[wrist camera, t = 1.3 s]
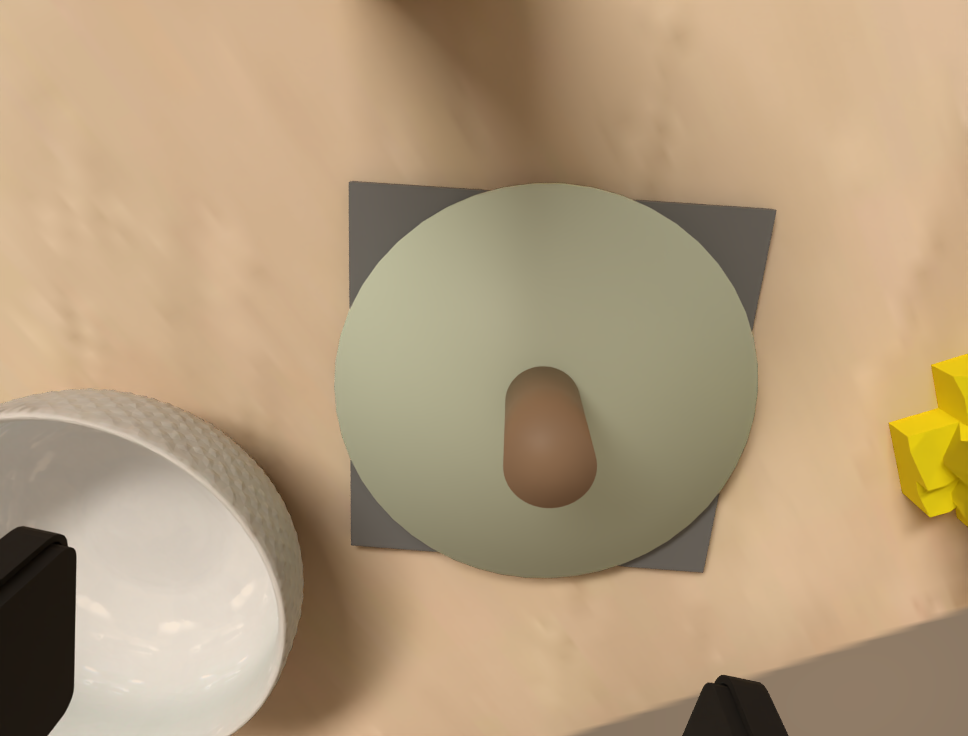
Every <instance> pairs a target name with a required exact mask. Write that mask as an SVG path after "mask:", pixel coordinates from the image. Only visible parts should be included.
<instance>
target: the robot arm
mask: <svg viewBox="0 0 968 736" xmlns="http://www.w3.org/2000/svg"><path fill="white" fill-rule="evenodd" d="M76 564H77V555H76V551H75V549H74V548H72V547H68V543H67V539H66V537H65V536H64V535H62V534H59V533H54V532H50V531H45V530H40V529H35V528H31V527H26V526H20V527H16V528H15V529H13V530H11V531H10V532H9V533H7V534H6V535H5V536H3V537H2V538H1V539H0V736H48V735H49V733H50V732H51V731H52V730H53V728H54V727H55V726H56V724H57V723H58V722H59V721H60V719H61V718H62V717H63V715H64V714H65V712H66V710H67V708H68V706H69V704H70V702H71V699H72V696H73V692H74V671H75V617H76ZM682 736H788V734H787V732H786V729H785V727H784V725H783V723H782V721H781V719H780V716H779V714H778V712H777V710H776V708H775V706H774V704H773V701H772V699H771V697H770V695H769V693H768V691H767V689H766V688H765V686H764V685H762V684H761V683H760V682H755V681H751V680H746V679H741V678H736V677H732V676H727V675H721V676H719V677H718V678H717V680H716V681H715V683H707V684H705V685H704V687H703V689H702V691H701V693H700V696H699V698H698V701H697V703H696V705H695V707H694V710H693V712H692V714H691V717H690V719H689V721H688V724H687V726H686V728H685V731H684V733H683V735H682Z"/></svg>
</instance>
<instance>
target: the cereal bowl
mask: <svg viewBox="0 0 968 736" xmlns="http://www.w3.org/2000/svg"><path fill="white" fill-rule="evenodd" d="M20 526H26V527H31V528H35V529H40V530H45V531H50V532H54V533H59V534H62V535H64V536H65V537H66V539H67V543H68V547H72V548H74V549H75V551H76V555H77V564H76V617H75V671H74V692H73V696H72V699H71V702H70V704H69V706H68V708H67V710H66V712H65V714H64V715H63V717H62V718H61V719H60V721H59V722H58V723H57V724H56V726H55V727H54V728H53V730H52V731H51V732H50V733H49V735H48V736H230V735H232V734H233V733H235V732H236V731H237V730H239V729H240V728H241V727H243V726H244V725H245V724H246V723H247V722H248V721H249V720H250V719H251V718H252V717H253V716H254V715H255V714H256V713H257V712H258V711H259V709H260V708H261V707H262V706H263V704H264V703H265V701H266V700H267V699H268V697H269V695H270V694H271V692H272V690H273V689H274V687H275V685H276V684H277V682H278V680H279V678H280V675H281V672H282V670H283V668H284V666H285V665H286V661H287V657H288V654H289V652H290V651H291V649H292V645H293V640H294V637H295V635H296V634H297V630H298V628H297V626H298V622H299V619H300V617H301V605H302V602H303V597H304V596H303V587H304V579H303V563H302V559H301V549H300V545H299V542H298V537H297V532H296V531H295V528H294V526H293V522H292V520H291V515H290V514H289V513H288V511H287V509H286V506H285V503H284V501H283V500H282V498H281V495H280V494H279V493H278V492H277V491H276V488H275V486H274V484H273V483H272V482H271V481H270V479H269V477H268V476H267V475H266V474H264V471H263V469H262V468H261V467H259V466H258V465H257V464H256V461H255V460H253V459H252V458H251V457H249V455H248V454H247V452H246V451H244V450H242V449H241V447H240V446H239V445H237V444H236V443H234V442H233V440H232V439H231V438H229V437H228V436H226V435H225V434H224V433H223V431H221V430H218V429H216V428H215V427H214V426H213V425H212V424H211V423H207V422H205V421H204V420H202V419H200V418H197V417H196V416H194V415H193V414H192V413H190V412H186V411H184V410H182V409H180V408H178V407H174V406H173V405H171V404H170V403H164V402H160V401H158V400H156V399H154V398H148V397H147V396H140V395H135V394H133V393H128V392H118V391H115V390H97V389H80V390H78V389H70V390H63V391H51V392H46V393H42V394H33V395H30V396H27V397H24V398H19V399H14V400H11V401H8V402H5V403H2V404H0V539H1V538H2V537H3V536H5V535H6V534H7V533H9V532H10V531H11V530H13V529H15V528H16V527H20Z"/></svg>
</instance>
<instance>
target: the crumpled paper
mask: <svg viewBox="0 0 968 736" xmlns="http://www.w3.org/2000/svg"><path fill="white" fill-rule="evenodd" d="M931 367H932V373H933V379H934V385H935V391H936V397H937V403H938V408H937V409H933V410H930V411H927V412H923V413H920V414H917V415H913V416H910V417H906V418H903V419H900V420H896V421H893V422H889V427H890V433H891V438H892V443H893V448H894V453H895V458H896V463H897V468H898V473H899V479H900V484H901V489H902V493H903V494H904V495H905V496H907V497H908V498H909V499H910V500H911V501H912V502H913V503H914V504H915V505H917V506H918V507H919V508H920V509H921V510H922V511H923V512H924V513H925V514H927V515H928V516H929V517H933V516H937V515H941V514H944V513H948V512H950V511H952V510H953V509H955V510H956V515H957V518H958V519H959V520H960V521H961V522H963V523H964V524H965V525H966V526H967V527H968V354H965V355H962V356H959V357H955V358H952V359H949V360H945V361H942V362H939V363H936V364H932V365H931Z"/></svg>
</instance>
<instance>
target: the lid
mask: <svg viewBox="0 0 968 736" xmlns="http://www.w3.org/2000/svg"><path fill="white" fill-rule="evenodd" d="M334 389H335V401H336V412H337V416H338V421H339V425H340V430H341V434H342V438H343V440H344V443H345V446H346V448H347V451H348V454H349V456H350V459H351V461H352V463H353V465H354V467H355V469H356V470H357V472H358V474H359V476H360V478H361V480H362V481H363V483H364V484H365V486H366V487H367V489H368V490H369V491H370V493H371V494H372V496H373V497H374V498H375V500H376V501H377V502H378V503H379V504H380V506H381V507H382V508H383V509H384V510H385V511H386V512H387V513H388V514H389V515H390V516H391V518H392V519H393V520H395V521H396V522H397V523H398V524H399V525H400V526H402V527H403V528H404V529H405V530H406V531H408V532H409V533H410V534H411V535H412V536H414V537H415V538H417V539H418V540H420V541H421V542H423V543H424V544H426V545H427V546H429V547H430V548H432V549H434V550H436V551H438V552H440V553H442V554H444V555H446V556H448V557H450V558H452V559H454V560H456V561H459V562H462V563H464V564H467V565H470V566H472V567H475V568H478V569H482V570H486V571H490V572H494V573H498V574H503V575H511V576H518V577H525V578H558V577H569V576H578V575H583V574H588V573H593V572H598V571H602V570H605V569H608V568H611V567H614V566H618V565H621V564H624V563H626V562H628V561H631V560H633V559H635V558H637V557H640V556H642V555H644V554H646V553H648V552H650V551H652V550H653V549H655V548H657V547H658V546H660V545H662V544H663V543H665V542H667V541H669V540H670V539H671V538H673V537H674V536H675V535H676V534H678V533H679V532H680V531H682V530H683V529H684V528H686V527H687V526H688V525H689V524H690V523H692V522H693V521H694V520H695V519H696V518H697V517H698V516H699V515H700V514H701V513H702V512H703V511H704V510H705V509H706V508H707V507H708V506H709V504H710V503H711V502H712V501H713V499H714V498H715V497H716V496H717V494H718V493H719V492H720V491H721V489H722V488H723V487H724V485H725V483H726V482H727V480H728V479H729V477H730V475H731V474H732V472H733V470H734V469H735V467H736V465H737V463H738V461H739V459H740V456H741V454H742V452H743V450H744V447H745V445H746V443H747V440H748V436H749V433H750V429H751V426H752V422H753V419H754V414H755V407H756V399H757V392H758V364H757V357H756V350H755V344H754V338H753V334H752V331H751V328H750V324H749V321H748V318H747V314H746V312H745V309H744V307H743V305H742V303H741V301H740V299H739V297H738V295H737V293H736V290H735V288H734V287H733V285H732V284H731V282H730V281H729V279H728V278H727V276H726V274H725V273H724V271H723V270H722V268H721V267H720V265H719V264H718V263H717V262H716V261H715V260H714V258H713V257H712V256H711V255H710V254H709V253H708V252H707V251H706V250H705V248H704V247H703V246H702V245H701V244H700V243H699V242H698V241H697V240H695V239H694V238H693V237H692V236H691V235H689V234H688V233H687V232H686V231H685V230H683V229H682V228H681V227H680V226H679V225H677V224H676V223H674V222H673V221H671V220H669V219H668V218H666V217H665V216H663V215H661V214H660V213H658V212H656V211H655V210H653V209H652V208H649V207H647V206H645V205H643V204H640V203H638V202H636V201H634V200H631V199H629V198H627V197H624V196H622V195H619V194H616V193H612V192H608V191H605V190H601V189H598V188H594V187H589V186H581V185H574V184H567V183H529V184H522V185H515V186H507V187H502V188H498V189H494V190H491V191H487V192H484V193H480V194H477V195H474V196H471V197H469V198H467V199H464V200H462V201H460V202H457V203H455V204H453V205H450V206H448V207H446V208H445V209H443V210H441V211H440V212H438V213H436V214H435V215H433V216H431V217H430V218H428V219H426V220H425V221H423V222H422V223H420V224H419V225H418V226H417V227H416V228H414V229H413V230H412V231H411V232H409V233H408V234H407V235H406V236H404V237H403V238H402V239H401V240H399V241H398V242H397V243H396V244H395V245H394V246H393V248H392V249H391V250H390V251H389V252H388V253H387V254H386V255H385V256H384V257H383V258H382V259H381V260H380V261H379V262H378V264H377V265H376V267H375V268H374V269H373V271H372V272H371V274H370V275H369V276H368V278H367V279H366V281H365V282H364V284H363V285H362V287H361V289H360V290H359V292H358V294H357V296H356V298H355V300H354V302H353V304H352V306H351V308H350V310H349V313H348V316H347V319H346V321H345V324H344V327H343V330H342V333H341V336H340V341H339V346H338V351H337V357H336V364H335V382H334Z"/></svg>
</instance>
